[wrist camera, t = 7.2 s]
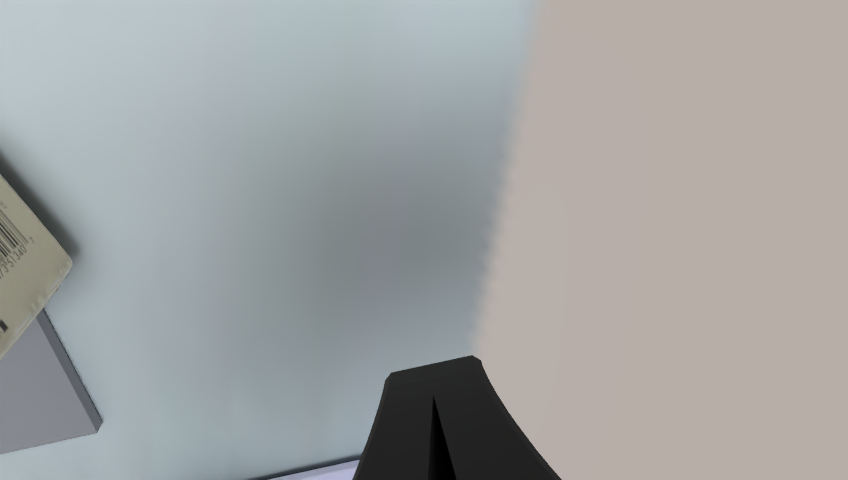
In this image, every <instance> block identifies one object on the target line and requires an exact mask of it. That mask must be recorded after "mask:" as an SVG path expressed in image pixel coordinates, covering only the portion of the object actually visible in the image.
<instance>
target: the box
mask: <svg viewBox="0 0 848 480" xmlns="http://www.w3.org/2000/svg"><path fill="white" fill-rule="evenodd" d="M72 264H73V262H72V260H71V258H70V257H69V256H68V254H67V253H66V252H65V251H64V249H63V248H62V247H61V245H60V244H59V243H58V242H57V240H56V239H55V238H54V237H53V235H52V234H51V233H50V232H49V231H48V230H47V229H46V228H45V226H44V225H43V224H42V223H41V222H40V220H39V219H38V218H37V217H36V215H35V214H34V213H33V212H32V211H31V209H30V208H29V207H28V206H27V205H26V204H25V202H24V201H23V200H22V199H21V198H20V197H19V195H18V194H17V193H16V192H15V191H14V189H13V188H12V187H11V186H10V185H9V183H8V182H7V181H6V180H5V179H4V178H3V177H2V175H1V174H0V360H1V359H2V358H3V357H4V356H5V355H6V353H7V352H8V351H9V350H10V349H11V347H12V346H13V345H14V344H15V343H16V341H17V340H18V339H19V338H20V336H21V335H22V334H23V333H24V331H25V330H26V329H27V328H28V326H29V325H30V324H31V323H32V321H33V320H34V319H35V318H36V316H37V315H38V314H39V313H40V311H41V310H42V309H43V307H44V306H45V305H46V303H47V302H48V301H49V299H50V298H51V297H52V295H53V294H54V293H55V291H56V290H57V289H58V287H59V286H60V285H61V283H62V282H63V280H64V279H65V277H66V276H67V274H68V273H69V271H70V270H71V268H72Z"/></svg>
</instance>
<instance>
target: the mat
mask: <svg viewBox="0 0 848 480" xmlns="http://www.w3.org/2000/svg"><path fill="white" fill-rule="evenodd" d="M101 424H102V421H101V419H100V417H99V415H98V413H97V411H96V409H95V407H94V405H93V404H92V402H91V400H90V398H89V396H88V394H87V392H86V390H85V388H84V386H83V384H82V383H81V381H80V379H79V377H78V375H77V373H76V371H75V369H74V367H73V365H72V364H71V362H70V360H69V358H68V356H67V354H66V352H65V350H64V348H63V346H62V345H61V343H60V341H59V339H58V337H57V335H56V333H55V331H54V329H53V327H52V326H51V324H50V322H49V320H48V318H47V316H46V314H45V312H44V310H43V309H42V310H41V311H40V313H39V314H38V315H37V316H36V318H35V319H34V320H33V321H32V323H31V324H30V325H29V326H28V328H27V329H26V330H25V331H24V333H23V334H22V335H21V336H20V338H19V339H18V340H17V341H16V343H15V344H14V345H13V346H12V347H11V349H10V350H9V351H8V352H7V353H6V355H5V356H4V357H3V358H2V359H1V360H0V454H4V453H9V452H13V451H18V450H22V449H27V448H31V447H36V446H40V445H45V444H49V443H54V442H58V441H63V440H67V439H72V438H76V437H81V436H85V435H90V434H94V433H97V432H98V430H99V428H100V426H101Z"/></svg>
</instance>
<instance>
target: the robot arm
mask: <svg viewBox="0 0 848 480" xmlns="http://www.w3.org/2000/svg"><path fill="white" fill-rule="evenodd" d="M269 480H561V478H560V477H559V476H558V475H557V474H556V473H555V472H554V471H553V469H552V468H551V467H550V466H549V465H548V463H547V462H546V461H545V460H544V459H543V457H542V456H541V455H540V454H539V453H538V451H537V450H536V449H535V447H534V446H533V445H532V443H531V442H530V441H529V439H528V438H527V437H526V435H525V434H524V433H523V432H522V430H521V429H520V428H519V426H518V425H517V424H516V422H515V421H514V419H513V418H512V417H511V415H510V414H509V413H508V411H507V409H506V408H505V406H504V404H503V403H502V401H501V400H500V398H499V397H498V395H497V393H496V392H495V390H494V388H493V386H492V385H491V383H490V381H489V379H488V377H487V375H486V373H485V370H484V368H483V366H482V362H481V360H479V359H478V358H476V357H474V356H473V355H471V356H466V357H462V358H457V359H452V360H448V361H443V362H439V363H434V364H429V365H425V366H420V367H416V368H411V369H406V370H402V371H397V372H392V373H391V374H390V375H389V376H388V378H387V379H386V380H385V384H384V389H383V393H382V397H381V400H380V404H379V407H378V410H377V414H376V417H375V420H374V423H373V426H372V429H371V432H370V435H369V438H368V440H367V443H366V446H365V448H364V451H363V453H362V456H361V458H360V460H356V461H351V462H347V463H342V464H338V465H333V466H328V467H324V468H319V469H315V470H310V471H306V472H301V473H297V474H292V475H287V476H283V477H278V478H274V479H269Z"/></svg>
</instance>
